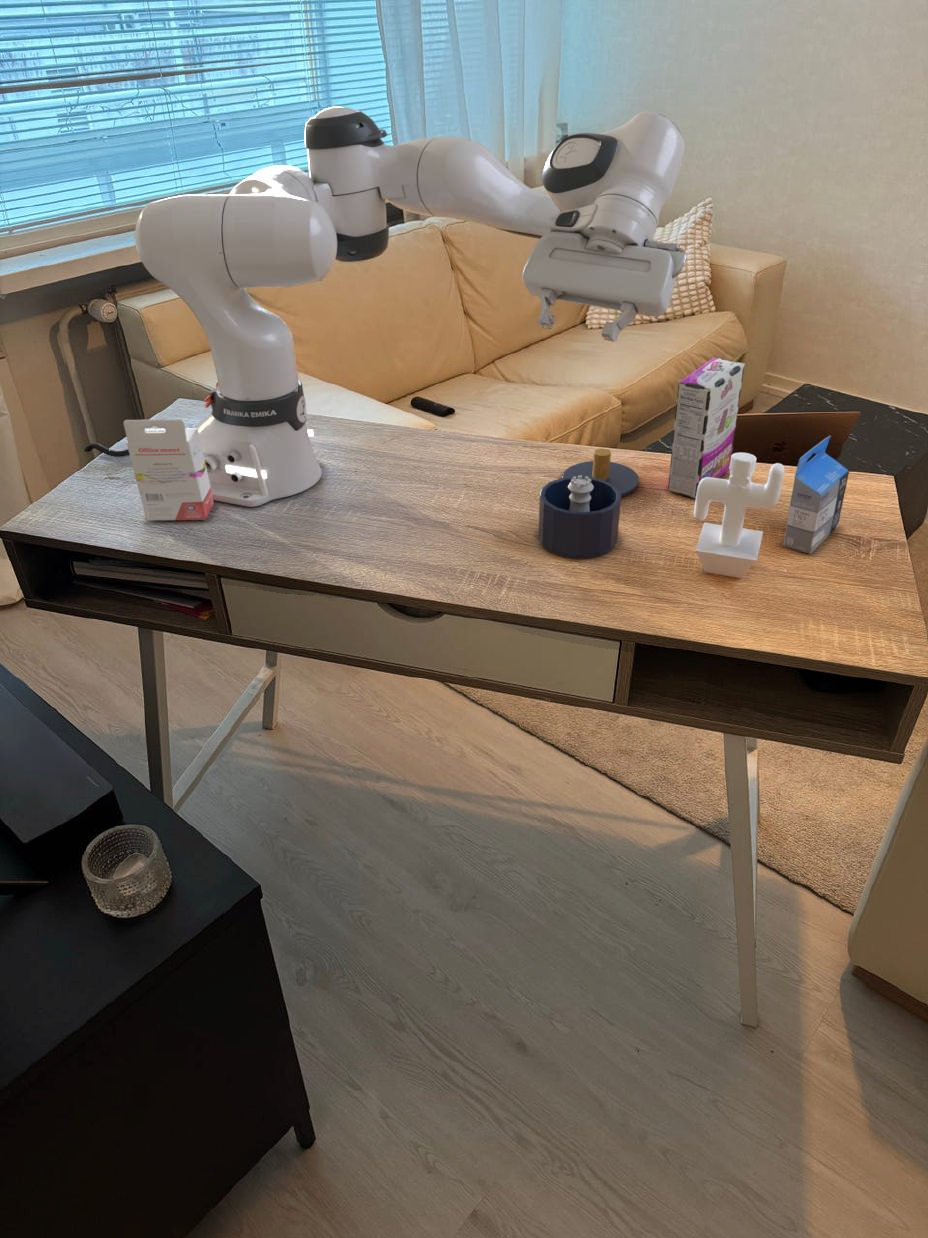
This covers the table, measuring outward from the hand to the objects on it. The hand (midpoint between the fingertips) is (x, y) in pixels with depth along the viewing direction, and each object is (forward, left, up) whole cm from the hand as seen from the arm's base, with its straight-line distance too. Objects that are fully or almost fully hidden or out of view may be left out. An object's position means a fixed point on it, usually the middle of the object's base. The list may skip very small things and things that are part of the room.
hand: (575, 332), depth 118 cm
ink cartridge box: (-53, -14, -23) cm, 59 cm away
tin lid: (+4, +3, -22) cm, 23 cm away
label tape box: (+32, -8, -23) cm, 41 cm away
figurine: (+21, -17, -23) cm, 36 cm away
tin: (+3, -13, -23) cm, 26 cm away
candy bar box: (+18, +6, -23) cm, 30 cm away
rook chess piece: (+3, -13, -23) cm, 26 cm away
